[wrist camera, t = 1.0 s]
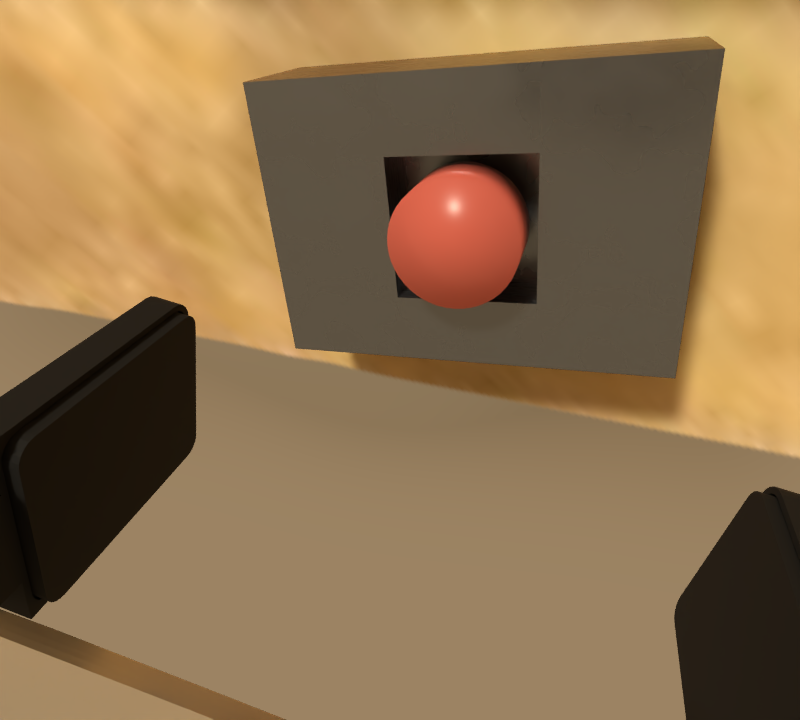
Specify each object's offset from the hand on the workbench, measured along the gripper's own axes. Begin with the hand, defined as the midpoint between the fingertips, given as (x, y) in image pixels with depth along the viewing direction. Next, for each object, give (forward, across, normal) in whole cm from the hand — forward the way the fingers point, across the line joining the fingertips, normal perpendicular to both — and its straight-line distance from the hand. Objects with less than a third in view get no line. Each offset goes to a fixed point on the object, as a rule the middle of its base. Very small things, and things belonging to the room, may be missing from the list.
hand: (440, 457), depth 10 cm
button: (+21, +2, +3) cm, 21 cm away
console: (+26, +2, +3) cm, 26 cm away
